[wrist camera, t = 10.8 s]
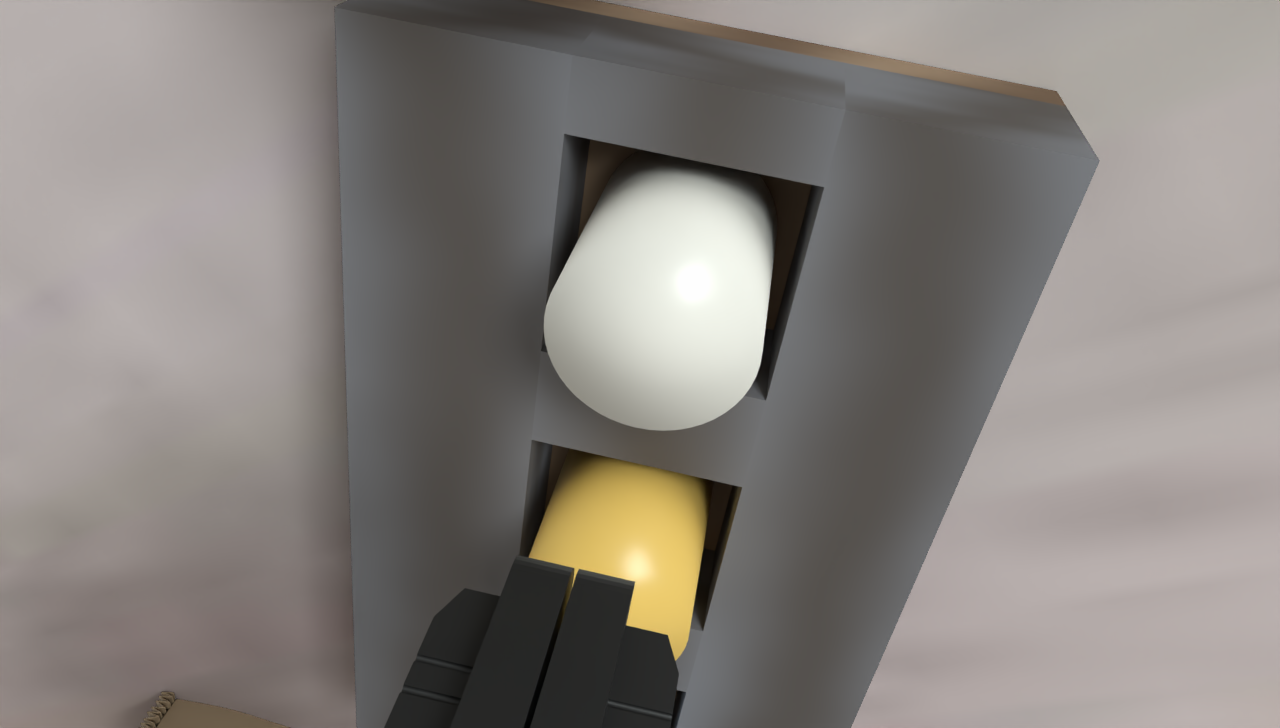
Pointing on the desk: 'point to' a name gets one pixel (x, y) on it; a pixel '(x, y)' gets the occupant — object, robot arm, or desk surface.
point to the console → (794, 335)
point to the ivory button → (666, 293)
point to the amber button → (631, 535)
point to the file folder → (199, 716)
